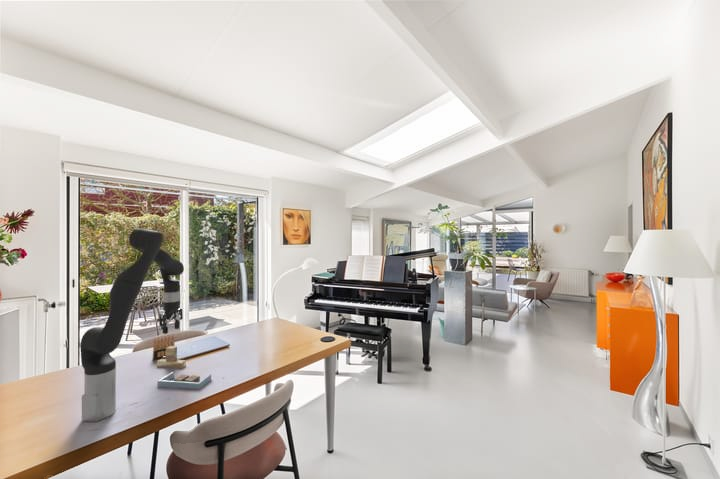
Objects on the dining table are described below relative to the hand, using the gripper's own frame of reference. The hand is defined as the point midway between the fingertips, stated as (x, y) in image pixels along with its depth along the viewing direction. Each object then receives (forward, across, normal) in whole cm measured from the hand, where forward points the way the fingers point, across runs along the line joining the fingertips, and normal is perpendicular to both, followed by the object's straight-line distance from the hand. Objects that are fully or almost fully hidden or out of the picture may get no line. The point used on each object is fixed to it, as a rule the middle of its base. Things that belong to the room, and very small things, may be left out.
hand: (171, 331), depth 163 cm
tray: (+18, -16, -19) cm, 31 cm away
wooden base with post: (+19, 0, 0) cm, 19 cm away
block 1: (+19, -16, -17) cm, 30 cm away
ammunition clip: (+19, +10, +12) cm, 24 cm away
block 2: (+19, -16, -22) cm, 33 cm away
